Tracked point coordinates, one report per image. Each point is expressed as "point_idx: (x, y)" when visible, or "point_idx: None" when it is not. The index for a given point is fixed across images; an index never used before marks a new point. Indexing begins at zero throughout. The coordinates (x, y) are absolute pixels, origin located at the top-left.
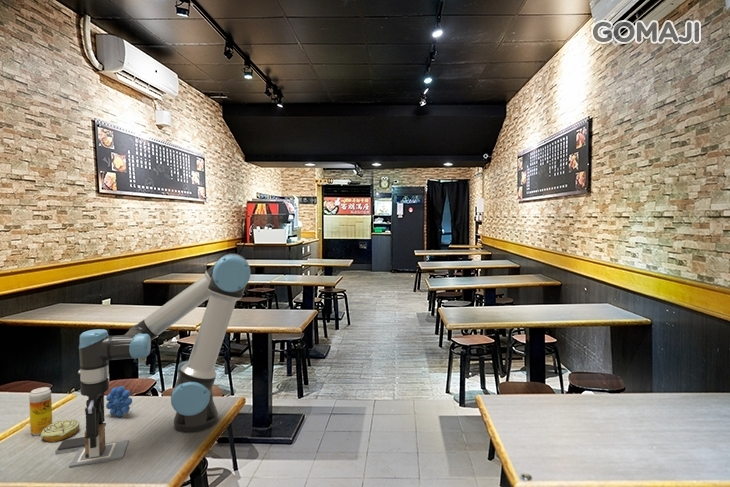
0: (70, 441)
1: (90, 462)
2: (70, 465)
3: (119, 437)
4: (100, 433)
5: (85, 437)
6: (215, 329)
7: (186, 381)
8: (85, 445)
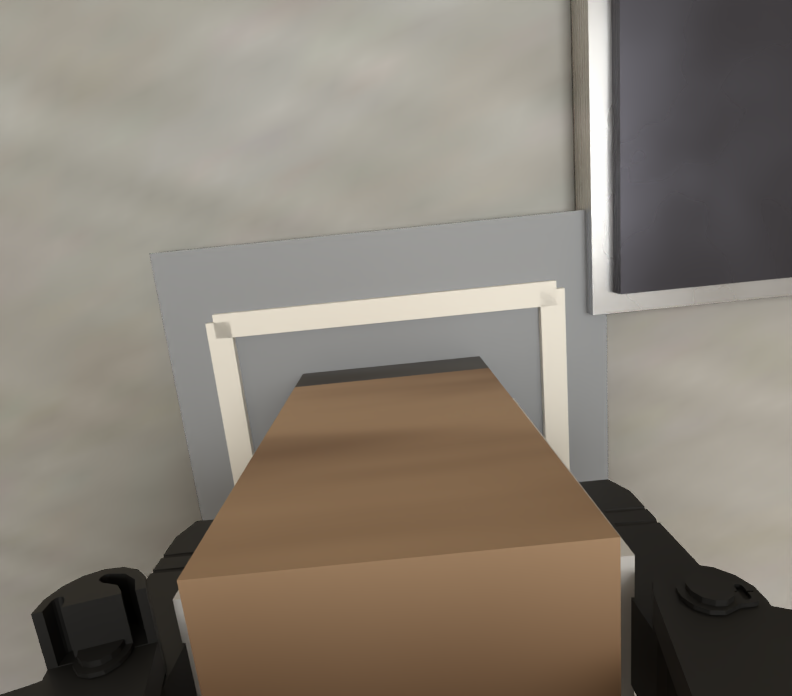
0: None
1: (193, 459)
2: (159, 262)
3: (746, 560)
4: None
5: (45, 608)
6: None
7: None
8: (271, 437)
